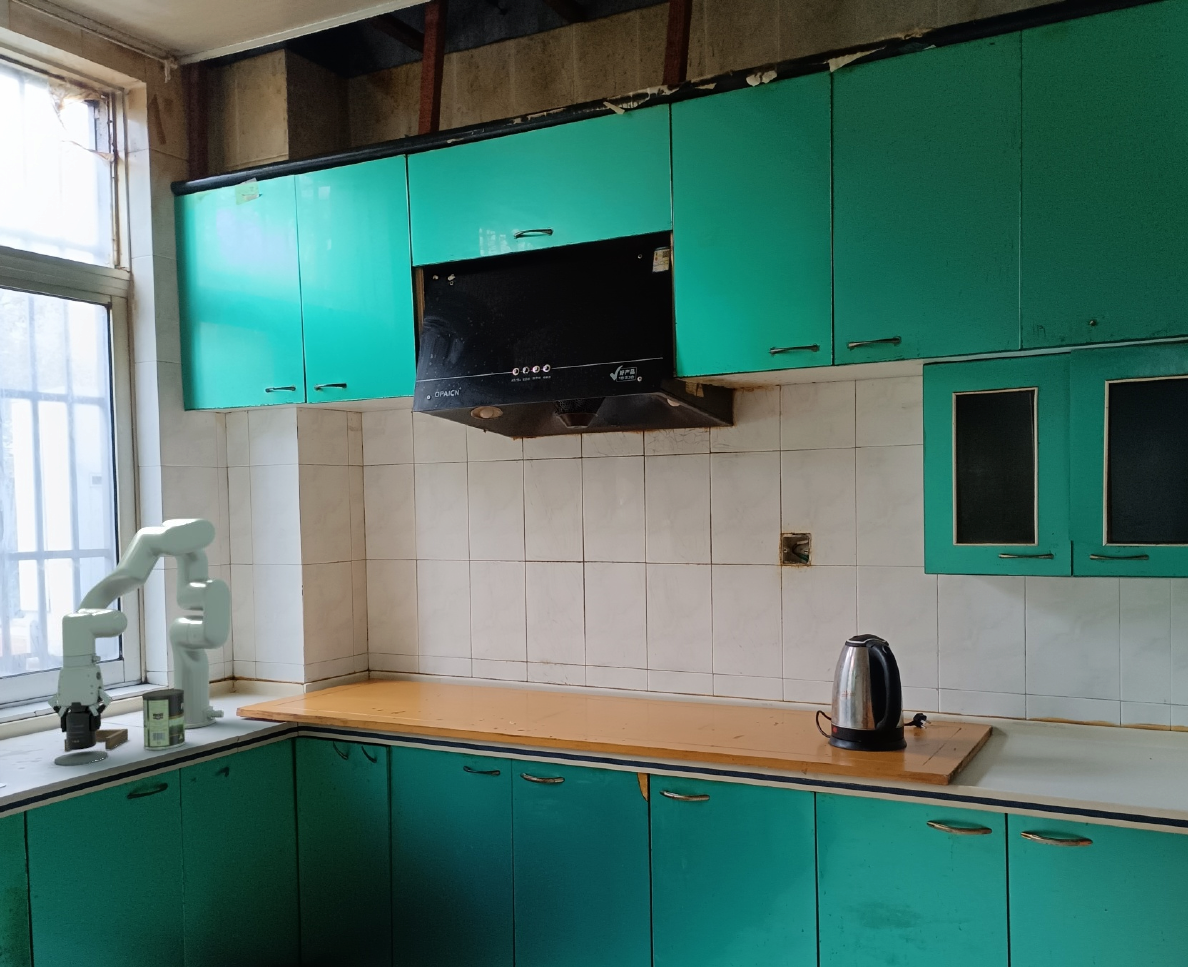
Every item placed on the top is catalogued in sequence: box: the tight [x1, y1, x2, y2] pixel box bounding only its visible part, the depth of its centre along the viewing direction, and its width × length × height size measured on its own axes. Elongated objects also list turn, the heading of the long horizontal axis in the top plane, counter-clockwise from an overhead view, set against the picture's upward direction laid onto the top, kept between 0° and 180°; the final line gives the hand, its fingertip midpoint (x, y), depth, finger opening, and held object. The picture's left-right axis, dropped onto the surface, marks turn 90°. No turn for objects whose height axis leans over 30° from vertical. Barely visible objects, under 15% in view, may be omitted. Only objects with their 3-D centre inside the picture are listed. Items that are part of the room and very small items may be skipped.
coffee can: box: [141, 688, 186, 751], centre depth 266 cm, size 10×10×14 cm
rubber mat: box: [54, 750, 109, 766], centre depth 253 cm, size 12×12×1 cm
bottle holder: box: [63, 728, 129, 752], centre depth 268 cm, size 12×11×3 cm
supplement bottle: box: [65, 702, 97, 751], centre depth 256 cm, size 7×7×12 cm
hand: (80, 730), depth 256 cm, fingers closed on supplement bottle, 6 cm apart
